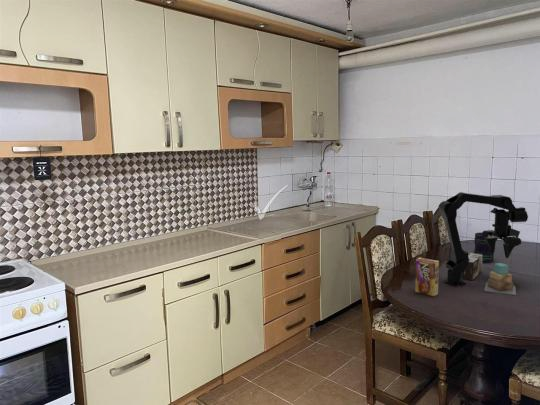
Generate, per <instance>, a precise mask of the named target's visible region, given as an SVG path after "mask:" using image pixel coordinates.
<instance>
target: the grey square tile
mask: <svg viewBox="0 0 540 405" xmlns="http://www.w3.org/2000/svg"><path fill="white" fill-rule="evenodd" d="M516 289H517V288H516V285H513V290H509V291H497V290H495V289H493V288H491V287H488V281H485V285H484V289H483V290H484V292H488V293H496V294H502V295H509V296H516V295H517V291H516Z"/></svg>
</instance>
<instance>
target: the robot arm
mask: <svg viewBox="0 0 540 405" xmlns="http://www.w3.org/2000/svg"><path fill="white" fill-rule="evenodd" d="M466 202H467V203H474V204H483V205H490V206H493V207H494V208H493V209H491V210H490V211H489V213H491V214H494V223H492V224H491V225H492V227H494V228H493V229H494V230H492V229H487V230H483V231H482V232H481V233H482V236H483V237H484V239H485V240H486V242H487V244H488V246H489V248H490V250H491V252H492V253H494V254H495V251H496V242H497V241H498V240H502V242H503V244H502V247H503V252H504V256H505V258H506V259H509V257H510V255H511V254H512V251H513V250H514V248H515V247H517V246H521V244H522V239H521V238H520V237H519V236H520V234H521V231H519V230H517V229H514V228H512V225H511V224H510V222H511V223H526V222H527V221H528V220H529V215H528V212H527V210H526V207H524V206H523V207H520V206H519V207H516V206H515V205H514V202H513V200H512V198H511V197H510V196H505V195H502V194H494V195H484V194H475V193H467V192H462V191H461V192H458V193H457V194H455V195H454V196H451V197H449V198H447V199H446V200H443V201H441V202H440V203H439V205H438V211H439V213H440V215H441V217H442V219H443V221H444V223H445V227H446V231H447V236H448V239H449V245H450V248H451V249H450V250H451V251H450V259H449V260H447V261H446V263H445V268H447V269H448V270H447V276H446V277H447V278H446V280H444V283H447V284H450V285H452V286H456V287H457V286H459V285H463V284H466V282H465V281H463V278H462V273H464V271H465V269H466V267H467V266H468V265H469V261H470V260H469V258H468V254H469V252H468V251H466V250H465V249H463V247H462V242H461V238H460V233H459V229H458V225H457V221H456V220H457V215H458V211H457V210H459V209H460V208H461V207H462V206H463V205H464V204H465V203H466ZM498 208H500V209H498Z"/></svg>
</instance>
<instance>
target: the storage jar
mask: <svg viewBox="0 0 540 405" xmlns="http://www.w3.org/2000/svg"><path fill="white" fill-rule="evenodd" d="M473 254H480V255H483V256H482V264H493V263H494V257H495V256H494V254H495V252H494V253H492V252H491V250H490V248H489V246H488V244H487V242H486V240H485V239H484V237H483V236H482V232H475V233H474V250H473Z"/></svg>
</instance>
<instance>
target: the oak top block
mask: <svg viewBox="0 0 540 405" xmlns="http://www.w3.org/2000/svg"><path fill="white" fill-rule="evenodd" d="M512 276H513V275H512V274H511V273H509V272H508V274H505V275H499V274H497V273H494V270H492V271H490V272H489V279H491V280H493V281H495V282H497V283H509V282H513V281H512V278H513V277H512Z"/></svg>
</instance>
